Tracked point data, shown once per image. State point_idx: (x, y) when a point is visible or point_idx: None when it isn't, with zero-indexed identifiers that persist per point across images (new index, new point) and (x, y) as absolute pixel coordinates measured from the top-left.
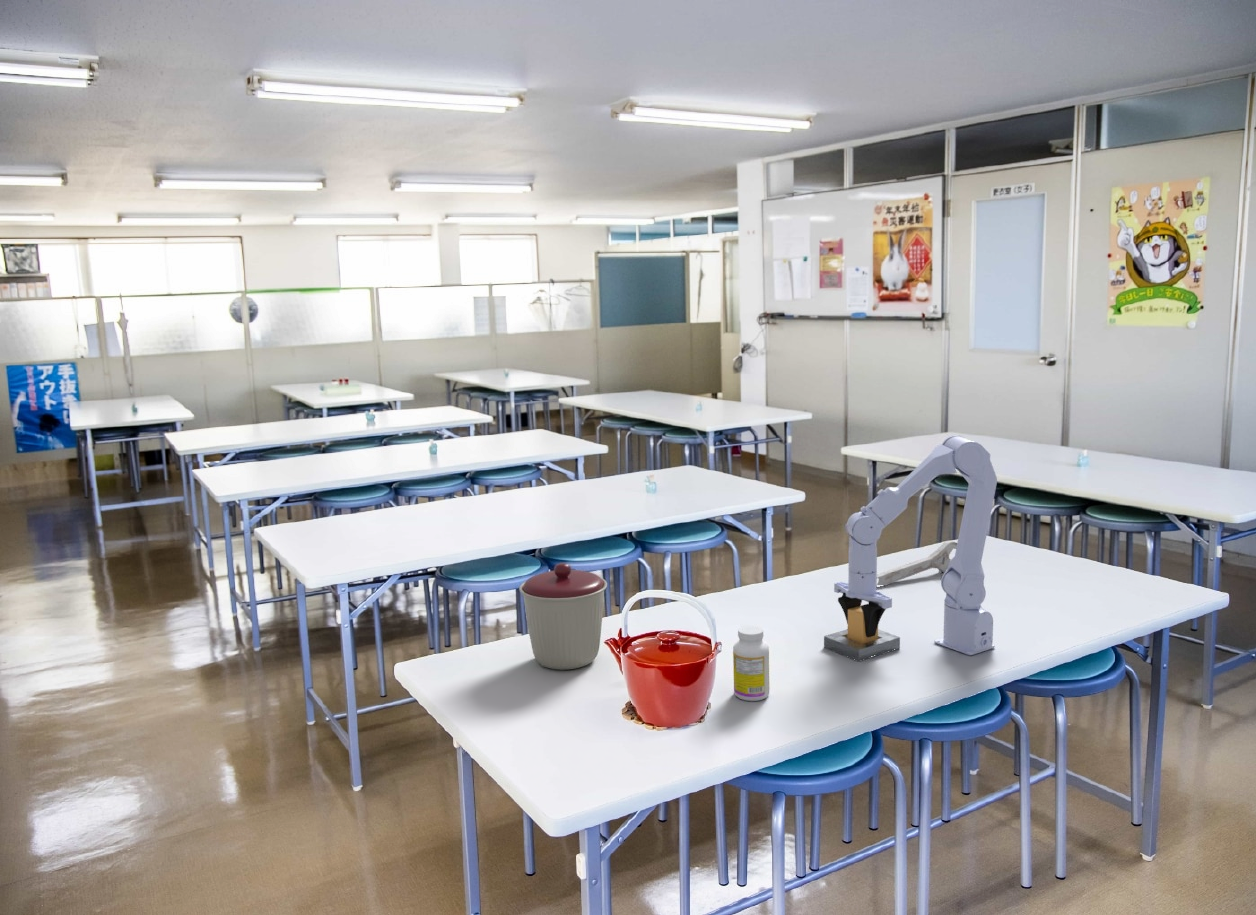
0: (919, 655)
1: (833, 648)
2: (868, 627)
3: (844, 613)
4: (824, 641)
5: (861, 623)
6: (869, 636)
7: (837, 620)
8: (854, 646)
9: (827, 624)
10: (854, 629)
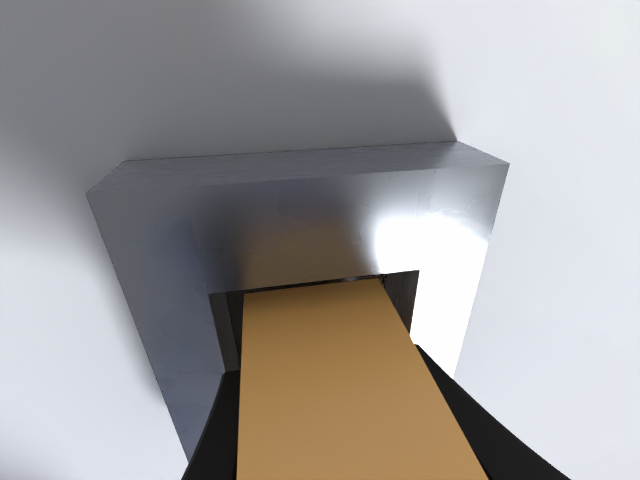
0: (90, 446)
1: (379, 150)
2: (194, 454)
3: (530, 450)
4: (478, 152)
5: (262, 455)
6: (221, 382)
7: (582, 383)
8: (182, 214)
9: (598, 337)
10: (340, 361)
